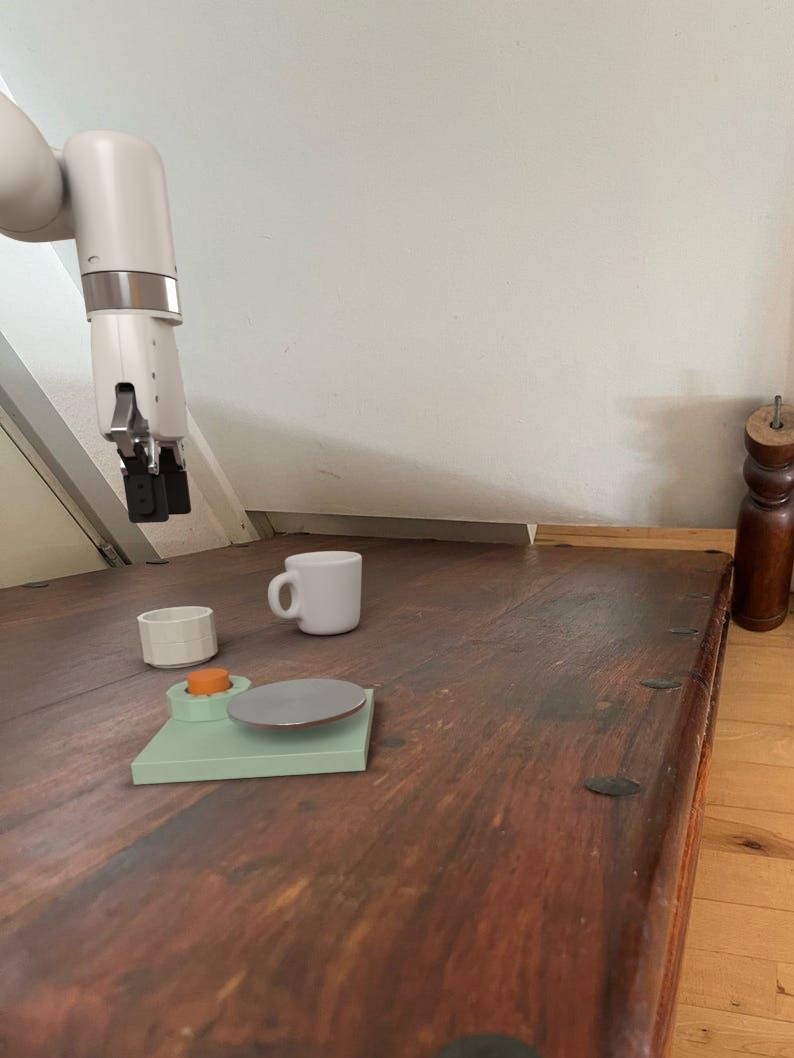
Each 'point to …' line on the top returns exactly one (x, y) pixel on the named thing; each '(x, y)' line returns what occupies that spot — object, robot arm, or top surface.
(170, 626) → the bowl
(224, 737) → the scale
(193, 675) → the power button
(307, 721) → the platter
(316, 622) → the cup
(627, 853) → the top surface
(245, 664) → the top surface
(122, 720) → the top surface
